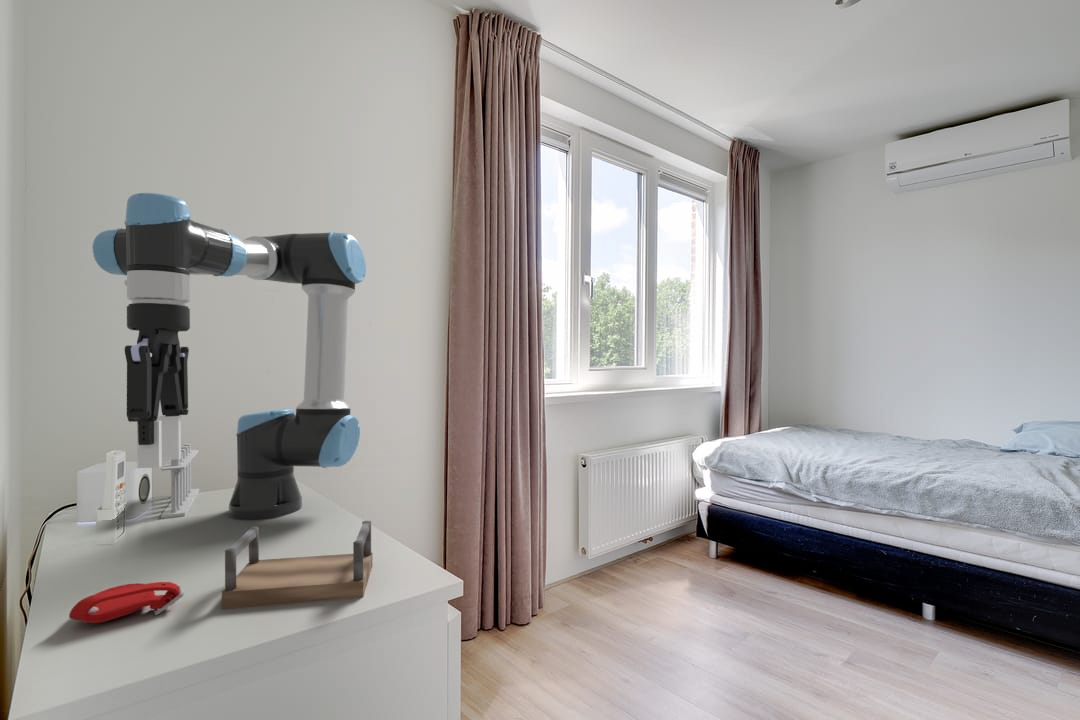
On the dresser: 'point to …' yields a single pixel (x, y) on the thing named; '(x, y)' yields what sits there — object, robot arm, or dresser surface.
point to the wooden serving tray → (295, 574)
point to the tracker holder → (125, 601)
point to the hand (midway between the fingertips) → (160, 462)
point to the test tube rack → (180, 484)
